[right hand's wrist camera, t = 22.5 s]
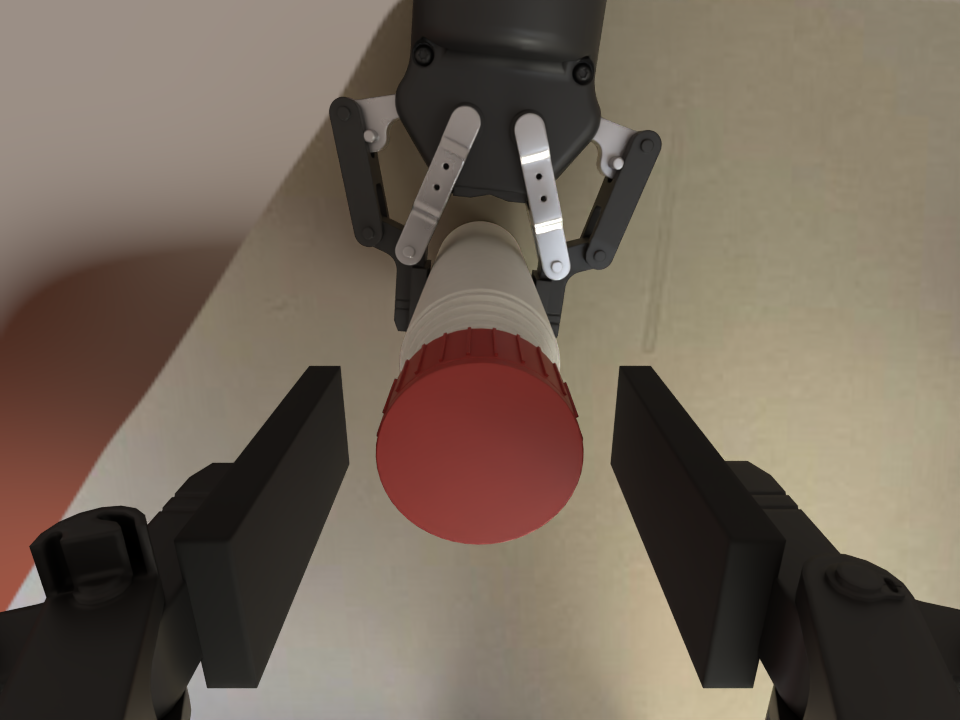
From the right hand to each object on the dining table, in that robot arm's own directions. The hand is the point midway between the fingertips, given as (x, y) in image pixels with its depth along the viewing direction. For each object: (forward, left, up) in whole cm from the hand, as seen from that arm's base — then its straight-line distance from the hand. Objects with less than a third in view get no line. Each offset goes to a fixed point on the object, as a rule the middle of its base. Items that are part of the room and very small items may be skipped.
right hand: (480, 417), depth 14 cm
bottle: (0, 0, -19) cm, 19 cm away
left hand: (-1, +2, -13) cm, 13 cm away
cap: (0, 0, +2) cm, 2 cm away
